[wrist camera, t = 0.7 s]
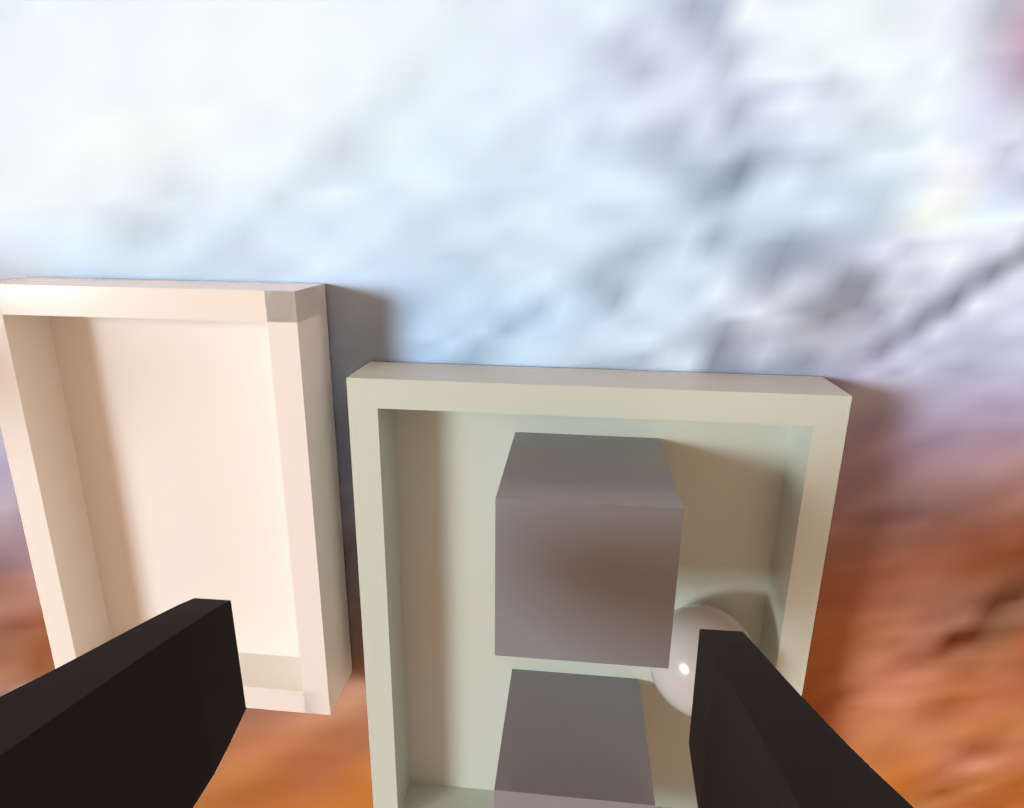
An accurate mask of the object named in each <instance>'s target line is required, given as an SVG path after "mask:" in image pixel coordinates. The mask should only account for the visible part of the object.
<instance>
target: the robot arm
mask: <svg viewBox="0 0 1024 808" xmlns="http://www.w3.org/2000/svg"><path fill="white" fill-rule="evenodd" d="M245 710H246V704H245V697H244V690H243V683H242V676H241V669H240V662H239V655H238V648H237V641H236V634H235V627H234V620H233V613H232V606H231V600H218V599H201V598H193V599H191V600H189V601H186V602H184V603H182V604H179V605H177V606H175V607H173V608H171V609H169V610H167V611H165V612H163V613H161V614H159V615H157V616H155V617H153V618H151V619H149V620H147V621H145V622H143V623H141V624H139V625H138V626H136V627H134V628H132V629H130V630H128V631H126V632H124V633H122V634H121V635H119V636H117V637H115V638H113V639H111V640H109V641H107V642H106V643H104V644H102V645H100V646H98V647H96V648H94V649H92V650H90V651H89V652H87V653H85V654H83V655H81V656H79V657H77V658H75V659H73V660H72V661H70V662H68V663H66V664H64V665H62V666H60V667H58V668H57V669H55V670H53V671H51V672H49V673H47V674H45V675H43V676H41V677H39V678H37V679H35V680H33V681H31V682H29V683H27V684H25V685H23V686H21V687H19V688H17V689H15V690H13V691H11V692H9V693H7V694H5V695H3V696H1V697H0V808H193V806H194V805H195V803H196V802H197V800H198V799H199V797H200V795H201V794H202V792H203V791H204V789H205V788H206V786H207V784H208V783H209V781H210V780H211V778H212V776H213V775H214V773H215V771H216V769H217V767H218V765H219V763H220V761H221V759H222V757H223V755H224V753H225V751H226V750H227V748H228V746H229V744H230V742H231V739H232V737H233V735H234V733H235V731H236V729H237V727H238V725H239V722H240V720H241V718H242V716H243V714H244V712H245ZM689 749H690V756H691V764H692V771H693V778H694V785H695V792H696V798H697V805H698V808H913V807H912V806H911V805H910V804H909V803H908V802H907V801H906V800H905V799H904V798H903V797H902V796H901V795H899V794H898V793H897V792H896V791H895V790H894V789H893V788H892V787H891V786H890V785H889V784H888V783H887V782H886V781H885V780H883V779H882V778H881V777H880V776H879V775H878V774H877V773H876V772H875V771H874V770H873V769H872V768H871V767H870V766H869V765H868V764H867V763H866V762H865V761H864V760H863V759H862V758H861V757H860V756H859V755H858V754H856V753H855V752H854V751H853V750H852V749H851V748H850V747H849V746H848V745H847V744H846V743H845V741H844V740H843V739H842V738H841V737H840V736H839V735H838V734H837V733H836V732H835V731H834V730H833V729H832V728H831V727H830V726H829V725H828V724H827V723H826V722H825V721H824V720H823V719H822V718H821V717H820V716H819V715H818V714H817V712H816V711H815V710H814V709H813V708H812V707H811V706H810V705H809V704H808V703H807V702H806V701H805V700H804V699H803V697H802V696H801V695H800V694H799V693H798V692H797V691H796V690H795V689H794V688H793V686H792V685H791V684H790V683H789V682H788V681H787V680H786V679H785V678H784V677H783V675H782V674H781V673H780V672H779V671H778V670H777V669H776V668H775V667H774V665H773V664H772V663H771V662H770V661H769V660H768V659H767V658H766V657H765V655H764V654H763V653H762V652H761V651H760V650H759V649H758V648H757V647H756V645H755V644H754V643H753V642H752V641H751V640H750V639H749V638H748V637H747V636H746V634H745V633H744V632H743V631H727V630H710V629H700V630H699V641H698V651H697V661H696V672H695V682H694V693H693V703H692V714H691V724H690V734H689Z"/></svg>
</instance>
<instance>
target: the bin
mask: <svg viewBox="0 0 1024 808" xmlns="http://www.w3.org/2000/svg"><path fill="white" fill-rule="evenodd" d="M346 383H347V399H348V414H349V430H350V446H351V461H352V477H353V493H354V508H355V524H356V540H357V555H358V571H359V587H360V602H361V618H362V633H363V649H364V665H365V680H366V696H367V712H368V727H369V743H370V759H371V774H372V790H373V805H374V808H494V787H495V781H496V774H497V767H498V760H499V754H500V747H501V740H502V733H503V727H504V720H505V713H506V706H507V700H508V693H509V686H510V679H511V673H512V669H521V670H533V671H546V672H559V673H571V674H584V675H597V676H609V677H622V678H635V679H639V684H640V692H641V700H642V707H643V715H644V722H645V730H646V738H647V745H648V753H649V761H650V768H651V776H652V784H653V791H654V799H655V808H698V805H697V798H696V792H695V785H694V778H693V771H692V764H691V756H690V749H689V734H690V724H691V717H690V716H688V715H686V714H684V713H682V712H680V711H678V710H677V709H675V708H674V707H673V706H672V705H671V704H669V703H668V702H667V701H666V700H665V698H664V697H663V696H662V695H661V693H660V692H659V690H658V689H657V687H656V685H655V683H654V681H653V679H652V676H651V673H650V669H649V667H640V666H627V665H614V664H601V663H588V662H575V661H562V660H549V659H536V658H523V657H510V656H497V655H495V498H496V495H497V492H498V488H499V485H500V482H501V478H502V475H503V471H504V468H505V465H506V461H507V458H508V455H509V451H510V448H511V445H512V441H513V438H514V435H515V432H528V433H551V434H574V435H597V436H620V437H643V438H658V439H659V442H660V444H661V447H662V450H663V453H664V455H665V458H666V461H667V464H668V466H669V469H670V472H671V475H672V477H673V480H674V483H675V486H676V488H677V491H678V494H679V496H680V499H681V502H682V505H683V507H684V513H683V524H682V534H681V544H680V555H679V565H678V576H677V586H676V596H675V607H674V610H676V609H678V608H680V607H683V606H687V605H694V604H702V605H709V606H713V607H716V608H719V609H721V610H724V611H725V612H727V613H729V614H731V615H732V616H733V617H735V618H736V619H737V620H738V621H739V622H740V623H741V624H742V625H743V626H744V627H745V628H746V630H747V631H748V632H749V634H750V635H751V637H752V639H753V641H754V643H755V645H756V647H757V648H758V649H759V650H760V651H761V652H762V653H763V654H764V655H765V657H766V658H767V659H768V660H769V661H770V662H771V663H772V664H773V665H774V667H775V668H776V669H777V670H778V671H779V672H780V673H781V674H782V675H783V677H784V678H785V679H786V680H787V681H788V682H789V683H790V684H791V685H792V686H793V688H794V689H795V690H796V691H797V692H798V693H799V694H800V695H801V696H802V692H803V686H804V680H805V674H806V668H807V662H808V656H809V650H810V644H811V638H812V632H813V626H814V620H815V615H816V609H817V603H818V597H819V591H820V585H821V579H822V573H823V567H824V561H825V555H826V549H827V543H828V537H829V532H830V526H831V520H832V514H833V508H834V502H835V496H836V490H837V484H838V478H839V472H840V466H841V460H842V454H843V449H844V443H845V437H846V431H847V425H848V419H849V413H850V407H851V401H852V396H851V395H850V394H848V393H847V392H845V391H844V390H842V389H840V388H839V387H837V386H836V385H834V384H833V383H831V382H830V381H828V380H826V379H825V378H823V377H820V376H791V375H761V374H732V373H702V372H672V371H643V370H613V369H584V368H554V367H524V366H495V365H465V364H436V363H406V362H376V361H370V362H369V363H367V364H366V365H364V366H363V367H361V368H360V369H358V370H357V371H355V372H354V373H352V374H351V375H349V376H348V377H346Z"/></svg>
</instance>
